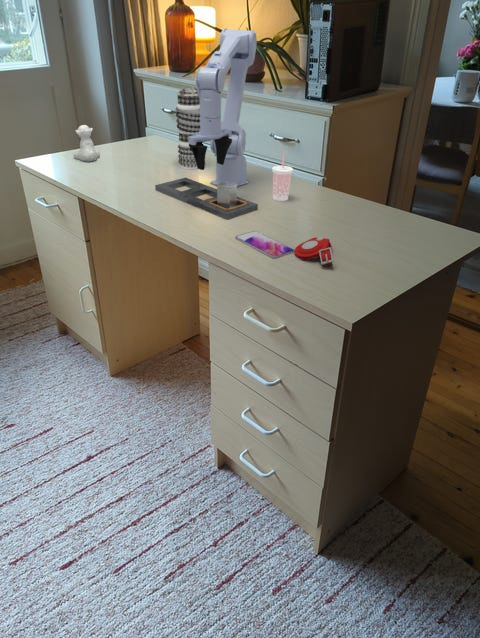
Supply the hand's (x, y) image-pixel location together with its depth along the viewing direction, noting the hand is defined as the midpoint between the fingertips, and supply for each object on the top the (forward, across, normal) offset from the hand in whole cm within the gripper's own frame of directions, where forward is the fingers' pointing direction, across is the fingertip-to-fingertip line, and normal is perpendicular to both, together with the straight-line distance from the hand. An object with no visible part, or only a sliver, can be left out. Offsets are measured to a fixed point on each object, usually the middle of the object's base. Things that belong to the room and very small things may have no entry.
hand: (210, 166), depth 148 cm
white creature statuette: (+10, +4, -60) cm, 61 cm away
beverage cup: (+10, -16, +13) cm, 23 cm away
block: (+10, +2, +8) cm, 13 cm away
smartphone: (+10, +12, +32) cm, 36 cm away
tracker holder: (+10, +9, +45) cm, 47 cm away
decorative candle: (+10, -18, -30) cm, 37 cm away
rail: (+10, +1, -1) cm, 10 cm away
